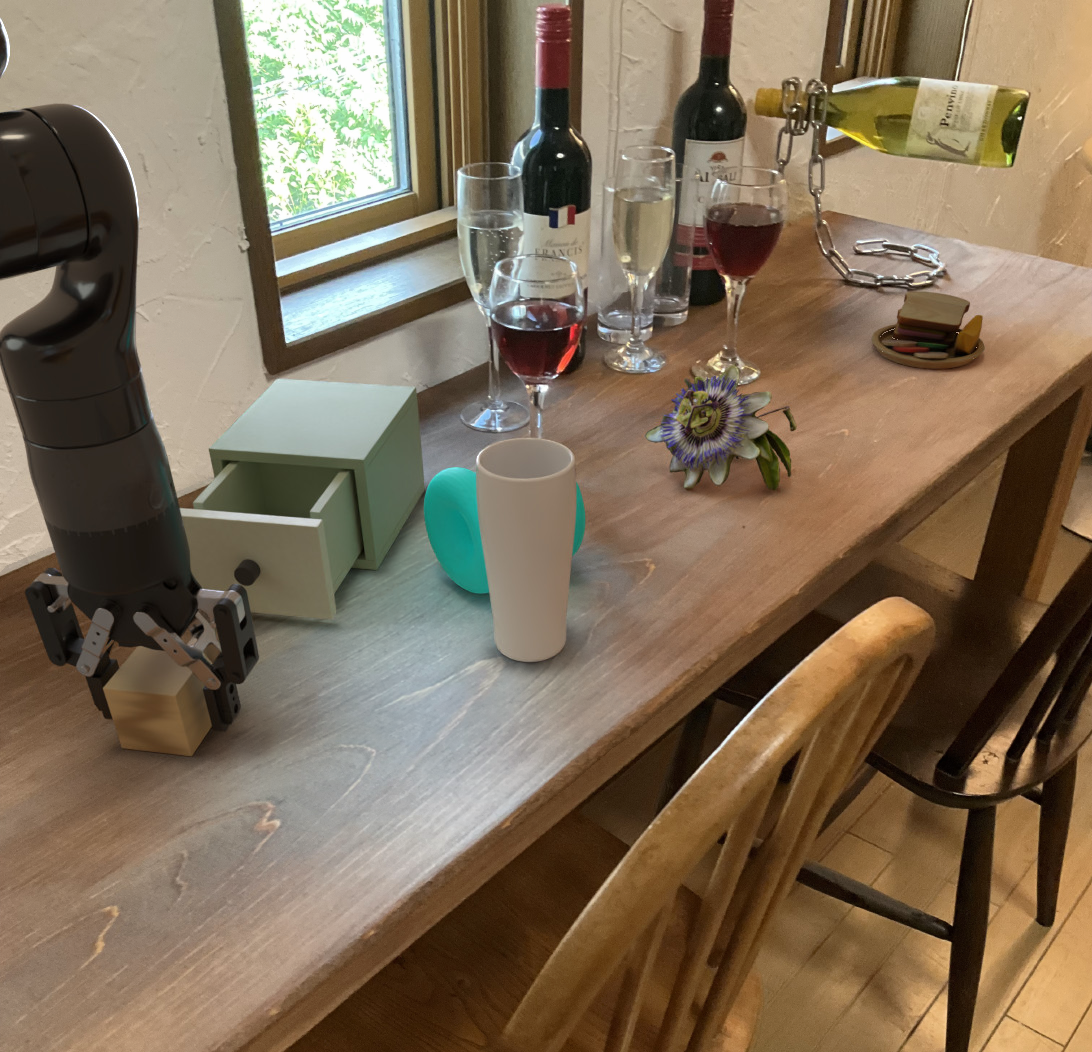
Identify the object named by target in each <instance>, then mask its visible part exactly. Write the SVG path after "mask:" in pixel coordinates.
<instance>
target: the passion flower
mask: <svg viewBox="0 0 1092 1052" xmlns="http://www.w3.org/2000/svg"><path fill="white" fill-rule="evenodd" d="M740 371H741V370H740V368H739V367H738V366H737V364H736V363H734V364H731V365H729V366H727V367H726V368H725V369H724V371H723V372H722V374H720V375H718V376H717V375H712V376H711V377H710V378H709V377H708V376H707V377H706V378H703V377H702V376H699V375H697V376H695V377H694V379H693V383H692V382H691V379H689V378H688V377H686V378H684V383H685V385H686V386H687V389H685V388H684V387H682V388H681V389H680V391H681V393H678V392H676V393H675V396H677V397H675V398H674V399H673V398H671V402H672V403H673V404H675V405H674V407H673V410H672V411H671V412H670V413H667V414H666V413H665V414H663V415H662V419H661V422H660V424H659V425H657V426H655V427H653V428H651V429H650V430H648V431H647V432H645V435H644V437H645V439H646V441H648V442H650V443H655V444H657V443H664V444H665V446H666V449H667V450H668V451H669V453H670V454H671V455H672V457H671V460H670V462H669V469H668V470H669V473H671V474H672V473H680V472H684V474H685V476H684V479H683V480H684V481H683V489H686V490H691V489H693V488H694V487H696V486H697V485H698V484H699V483H700V482H701V480H702V477H703V475H704V472H705V471H707V472H708V474H709V478H710V481H711V482H712V483H713V484H714V485H715V486H717V487H720V486H722V485H723V484H724V483H726V481H727V480H728V478H729V476H730V471H731V464H732V461H733V460H734V458H735V459H736V460H739V459H740V458H742V459H745V460H747V461H752V460H753V461H754V460H755V461H756V464H757V467H758V470H759V472H760V474H761V477H762V481H763V482H764V485H765V487H766V489H768V490H771V491H772V492H775V491H777V490H778V488H779V485H780V482H781V466H780V462H781V463H782V465H783V467H784V469H785V470H786V472H787V474H786V476H787V478H791V477H792V457H791V451H790V449H789V448H788V446H787V444H786V443H785V442H784V441H783V440H782V438H780V436H778V435H777V434H776V433H774V432H772V430H770V428H769V427H770V425H769V422H767V421H766V420H763V419H761V417H764V416H767V415H770V414H773V413H775V412H776V413H777V412H779V411H782V413H783V414H784V416H785V418H786V419H787V421H788V423H789V430H790V432H795V431H796V430H797V428H798V425H797V423H796V421H795V418H794V416H793V414H792V412H791V408H790V406H789V405H786V406H783V407H779V408H776V409H773V410H770V411H767V412H763V413H762V414H759V415H758V416H757V415H756V413H757V412H759V411H760V410H763V409H764V408H765V407H766V406H768V405H769V404H770V403H771V401H772V398H773V395H772V392H771V391H758V392H757V391H756V392H752V393H748V394H745V393H744V394H743V393H740V394H738V392H739V391H740V389H738V386H739V382H740ZM779 459H780V461H779Z"/></svg>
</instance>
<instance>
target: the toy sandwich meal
mask: <svg viewBox="0 0 1092 1052" xmlns="http://www.w3.org/2000/svg"><path fill="white" fill-rule="evenodd" d="M970 306H971V302H970V301H969V300H967V299H965V298H962V297H958V296H955V295H950V294H946V293H939V292H934V291H933V292H932V291H908V292H906V293H905V294H904V299H903V304H902V305H901V308H899V309H898V310H897V314H896V324H891V325H887V326H883V327H881V328H879V329H877V330H876V331H875V332H874V333H872V335H871V342H872V345H873V346H874V345H875V346H876V347H877V348H876V347H875V346H874V347H875V348H876V350H877V352H878V353H879V354H880V355H881V356H882V357H884V358H885V359H887V360H889V361H891V362H894V363H896V364H899V365H902V366H907V367H912V368H918V369H926V370H927V369H928V370H929V369H930V370H946V369H947V370H948V369H954V368H959V367H963V366H965V365H969V363H971V362H973V361H974V360H975V359H976V358H978V357H980V356H981V355H982V354H983V353H984V351H985V348H986V345H985V343H984V341H983V340H982V339H981V338H980V335H981V332H982V328H983V319H984V317H983V315H981V314H976V315H974V317H972V319H970V320H969V321H968V322H967V324H965V325H964V327H963V328H961V326H962V323H963V319H964V317H965V314H966V313H968V312H969V310H970ZM894 328H895V329H894ZM891 329H894V330H891ZM889 330H891V331H889ZM886 331H888V332H886ZM884 332H886V333H884ZM956 332H959V334H958V333H956ZM883 333H884V334H883ZM882 334H883V335H882ZM880 336H881V337H880ZM892 337H893V338H895V339H893V338H892ZM897 339H898V340H897ZM976 347H977V348H976ZM882 351H883V352H882ZM973 358H974V359H973Z"/></svg>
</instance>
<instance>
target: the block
mask: <svg viewBox="0 0 1092 1052" xmlns="http://www.w3.org/2000/svg"><path fill="white" fill-rule="evenodd" d="M203 656H204V657H205V658H206V659H207V661H208V662H209V663H210V664H211V665H212V662H211V661H210V660H209V658H208V657H207V656H206V655H205V654H204V653H203ZM204 686H205V685H204V684H203V683H202V682H201V681H200V680H199V679H198V678H197V677H196V676H195V674H194V673H193V672H192V671H191V670H190V669H189V668H188V667H181V666H179V665H178V664H177V663H176V662H175V661H174V660H173V659H172V658H171V657H170V656H169V655H168V654H167V652H166V651H160V650H152V649H149V648H146V647H143V646H137V647H136V648H135V649H134V650H133V651H132V652H131V653H130V654H129V656H128V657H127V658H126V659H125V661H124V662H123V663H122V664H121V666H119V669H118V671H117V672H116V673H115V674H114V675H113V677H112V678H111V679H110V680H109V681H108V683H107V684H106V685H105V686H104V687H103V690H104V693H105V696H106V700H107V703H108V706H109V709H110V712H111V715H112V718H113V720H112V721H113V724H114V727H115V728H114V729H115V731H116V734H117V737H118V741H119V743H120V747H121V748H122V749H126V750H135V751H142V752H143V751H144V752H152V753H158V754H160V753H161V754H166V755H167V754H169V755H177V756H184V757H193V755H194V754H195V752H196V751H197V750H198V748H199V746H200V745H201V744H202V742H203V740H204V739H205V737H206V736H207V735H208V733H209V731H210V730H211V728H212V724H211V720H210V717H209V713H208V709H207V705H206V701H205V697H204V693H203V687H204Z"/></svg>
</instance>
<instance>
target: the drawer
mask: <svg viewBox="0 0 1092 1052" xmlns="http://www.w3.org/2000/svg"><path fill="white" fill-rule="evenodd" d="M192 506H193V508H184V507H180V511H181V515H182V519H183V524H184V528H185V532H186V536H187V540H188V544H189V549H190V566H191V572H192V574H193V576H194V577H195V579H196V580H197V582H198V583H199V584H200V585H201V587H202V589H206V590H215V591H227V589H228V588H229V587H230V586H231V585H232V584H239V585H241V586H243V587H244V588H245V589H246V591H247V595H248V600H249V605H250V611H251V613H253V614H254V613H255V614H264V615H265V614H266V615H276V616H286V617H297V618H308V619H317V620H328V621H331V620H333V619H334V617H335V615H336V613H337V605H336V599H335V594H336V592H337V591H338V589H339V587H340V586H341V584H342V583H343V581H344V579H345V578H346V576H347V575H348V573H349V572H350V571H351V569H352V568H351V567H352V565H353V564H354V562H355V560H356V559H357V557H358V556H359V554H360V553H361V551H362V549H363V548H364V542H363V534H362V526H361V519H360V511H359V503H358V495H357V487H356V479H355V472H354V469H341V468H327V467H314V466H300V465H286V464H273V463H259V462H246V461H231V462H230V463H229V464H228V465H227V466H226V467H225V468H224V469H223V470H222V471H221V472H220V473H219V475H218V476H217V477H216V478H214V479H213V480H212V481H211V482H210V483H209V484H208V485H207V487H205V488H204V489H203V490H202V492H200V493H199V495H198V496H197V497H196V498H195V499H194V500H193V502H192Z"/></svg>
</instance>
